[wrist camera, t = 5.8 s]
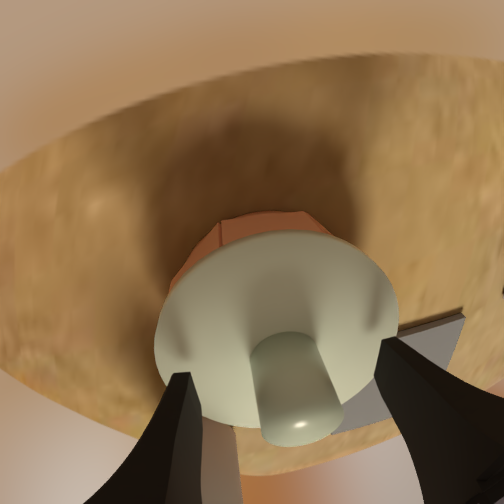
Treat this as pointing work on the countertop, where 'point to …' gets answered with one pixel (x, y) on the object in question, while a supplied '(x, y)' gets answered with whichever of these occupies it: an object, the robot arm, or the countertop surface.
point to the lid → (278, 331)
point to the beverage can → (219, 464)
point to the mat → (423, 341)
